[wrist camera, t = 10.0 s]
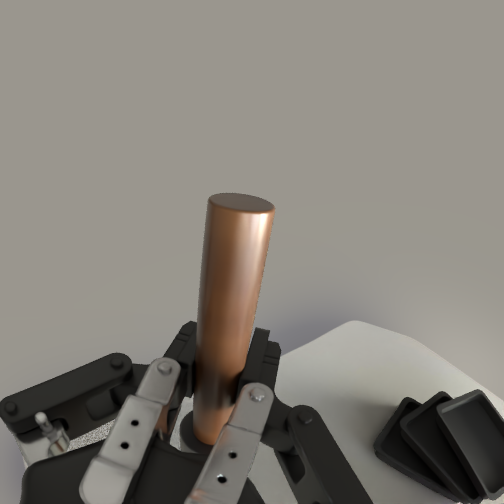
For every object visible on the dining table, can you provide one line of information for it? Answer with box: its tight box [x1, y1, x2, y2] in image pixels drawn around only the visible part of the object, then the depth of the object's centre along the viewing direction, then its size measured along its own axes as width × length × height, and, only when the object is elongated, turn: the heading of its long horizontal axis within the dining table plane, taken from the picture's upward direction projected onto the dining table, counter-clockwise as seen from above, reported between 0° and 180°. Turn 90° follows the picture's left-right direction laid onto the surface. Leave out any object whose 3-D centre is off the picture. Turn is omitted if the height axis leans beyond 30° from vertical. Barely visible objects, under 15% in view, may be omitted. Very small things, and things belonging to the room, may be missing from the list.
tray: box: [374, 389, 504, 504], centre depth 29 cm, size 30×23×5 cm
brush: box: [180, 193, 275, 455], centre depth 12 cm, size 3×3×18 cm
